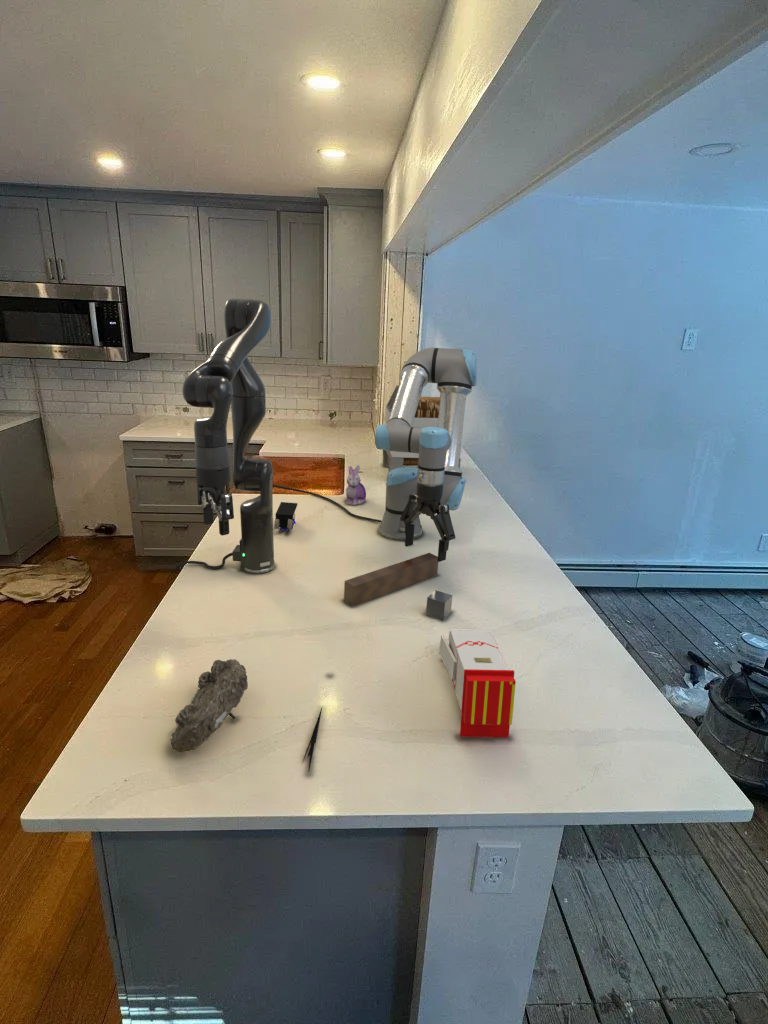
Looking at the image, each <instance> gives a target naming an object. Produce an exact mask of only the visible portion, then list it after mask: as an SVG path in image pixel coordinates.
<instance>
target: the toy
mask: <svg viewBox="0 0 768 1024" xmlns="http://www.w3.org/2000/svg"><path fill="white" fill-rule="evenodd" d="M438 654H439V656H440V658H441V660H442V662H443V665H444V666H445V668H446V671H447V673H448V675H449V677H450V681H451V683H452V685H453V689H454V690H455V695H456V698H457V702H458V705H459V708H460V726H459V737H460V738H509V737H510V728H511V727H510V726H512V725H513V717H514V706H515V705H514V704H515V693H516V684H517V683H516V679H515V670H514V669H510V667H509V666H508V663H507V662H506V660H505V658H504V655H503V654H502V652H501V650H500V648H499V644H498V642H497V638H496V635H495V634H492V632H491V631H490V629H467V628H466V629H465V628H463V629H461V628H460V629H459V628H450V629H449V631H448V641H447V639H446V638H445V636H444V634H443V635H442V634H441V635H440V641H439V651H438Z"/></svg>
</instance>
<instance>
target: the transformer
mask: <svg viewBox="0 0 768 1024" xmlns="http://www.w3.org/2000/svg"><path fill="white" fill-rule="evenodd" d="M399 386H400V384H397V385H396V386H395V388H394V389H393V392H392V393H391V395H390V398H389V400H388V402H387V403H386V405H385V413H384V414H385V416H384V424H386V425H387V421H388V418H389V415H390V412H391V409H392V406H393V403H394V400H395V397H396V394H397V391H398V389H399ZM439 393H440V392H439ZM440 397H441V393H440V394H439V396H420V400H419V403H418V406H417V410H416V413H415V417H414V420H413V424H412V427H416V428H425V427H437V424H438V415H439V406H440ZM464 420H465V419H464ZM464 420H463V422H464ZM463 431H464V428H463V429H462V433H463ZM462 443H463V442H462V440H461V444H462ZM461 452H462V446H461V447H460V456H459V465H458V467H459V469H460V470H461V462H462V458H461ZM418 462H419V454H418V453H409V452H396V451H387V450H382V463H381V464H382V465H383V467H386V468H388V473H389V472H390V471H391V470H393V469H396V468H401V467H416V466H417V467H418Z"/></svg>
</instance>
